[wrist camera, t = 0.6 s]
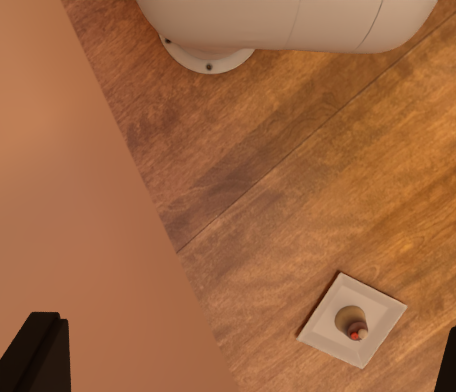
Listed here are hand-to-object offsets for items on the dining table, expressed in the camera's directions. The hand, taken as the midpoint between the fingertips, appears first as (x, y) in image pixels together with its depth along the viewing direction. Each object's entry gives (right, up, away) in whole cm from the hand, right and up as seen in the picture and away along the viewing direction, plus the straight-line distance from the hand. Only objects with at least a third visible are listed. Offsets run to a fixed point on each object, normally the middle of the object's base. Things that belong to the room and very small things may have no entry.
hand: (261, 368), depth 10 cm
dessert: (+17, -14, +52) cm, 57 cm away
